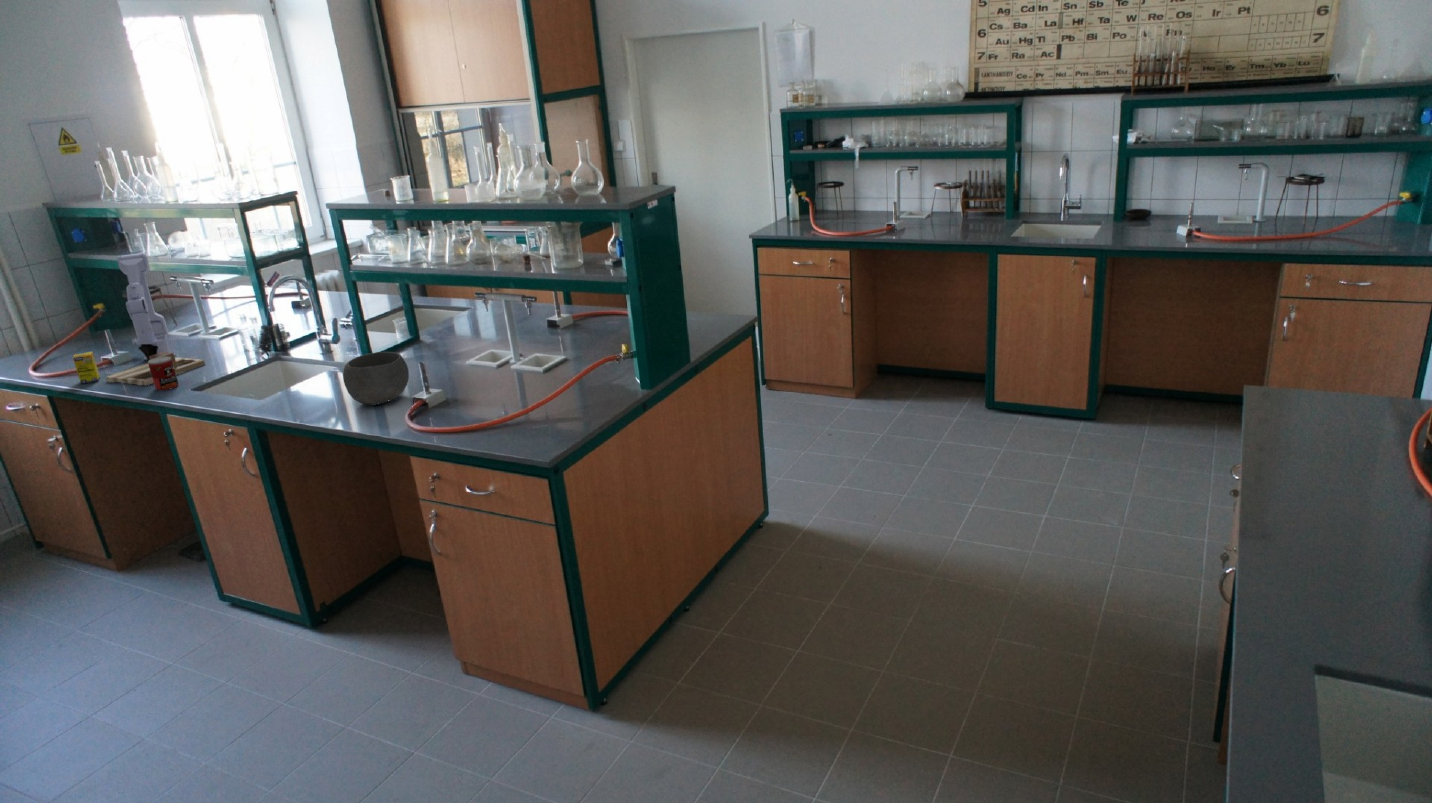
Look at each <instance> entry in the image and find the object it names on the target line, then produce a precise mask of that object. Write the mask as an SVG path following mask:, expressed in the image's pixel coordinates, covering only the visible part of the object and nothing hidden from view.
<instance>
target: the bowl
mask: <svg viewBox="0 0 1432 803" xmlns="http://www.w3.org/2000/svg"><path fill="white" fill-rule="evenodd" d="M409 373H410V372H409V367H408V364H407V362H406V361H405V359H404V357H403V356H402V355H401V354H400V353H398V352H394V351H377V352H370V353H366V354H361V355H359V356H357V357H354V358H352V359H351V360H349V361H347V363H345V365H344V368H343V374H342V379H343V384H344V386H345V389H346V390H347V393H348V394H349V396H350V397H351V398H352V399H353V400H354V401H356V402H358V403H359V404H362V405H366V406H373V405H372V404H378V403H382V404H384V403H383V402H386V401H388V400H391V401H393V400H394V398H395V399H396V398H397V397H399V396H400V395H401V394H402V393H403V392H404V391H405V388H407V386H408V383H409V378H410V377H409V376H410V374H409ZM392 399H393V400H392ZM386 403H387V402H386Z"/></svg>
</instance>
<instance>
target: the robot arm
mask: <svg viewBox="0 0 1432 803" xmlns="http://www.w3.org/2000/svg"><path fill="white" fill-rule="evenodd" d="M116 260H117V265H118V267H119V269H120V271H121V272H122V274H124V275H126V276H127V280H128V281H127V282H128V285H127V286H126V297H127V301H125V306H126V310H127V312H128V314H129V318H130V320H132V324H133V327H134V331H135V334H136V338H133V339H131V342H132V345H137V346H138V345H139V347H138V350H139V351H141V352H142V354H143V355H144V356H145V357H143V360H147V362H148V361H149V360H150V358H149V356H152V355H155V354H158V353H161V352H171V350H170V347H169V343H168V340H167V336H166V335H168V334H169V327H168V325H167V322H166V319H165V317H164V315H162V314H160V313H158V312H156V311H155V307H154V304H153V300H152V296H151V292H150V289H149V285H148V281H147V278H146V277H147V274H148V273H149V272H150V271H151V267H150V264H149V259H148V256H147V254H146V253H145V252H140V253H133V254H122V255H118V256H117V258H116ZM174 356H175V357H176V353H174Z"/></svg>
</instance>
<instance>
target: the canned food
mask: <svg viewBox="0 0 1432 803" xmlns="http://www.w3.org/2000/svg"><path fill="white" fill-rule="evenodd" d="M147 363H148V364H149V368H150V371H151V375H152V378H153V381H154V384H153V385H154V388H155V389H156V390H157V391H160V390H162V391H166V390H165V389H169V390H171V389H170V388H173V389H176V388H177V387H178V386H179V381H178V379H177V375H176V373H175V369H174V366H173V362H172V359H171V357H168V356H164V357H157V358H154V359H151V360H149V361H148V360H147Z"/></svg>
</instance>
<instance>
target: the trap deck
mask: <svg viewBox="0 0 1432 803" xmlns="http://www.w3.org/2000/svg"><path fill="white" fill-rule="evenodd" d="M175 360H176V364H177V368H174V369H175V373H176V376H178V375H180V373H181V374H183V373H185V372H189V371H191V370H194V369H197V368H200V367H203V366H205V365H206V363H205V360H204V359H198V358H189V357H188V358H187V357H179V356H177V357H176V356H175ZM177 374H178V375H177ZM105 378H106V382H107V383H114V382H122V383H121V384H123V383H129V384H128V385H132V384H137V385H136V386H141V385H148V386H151V385H154V384H153V383H154V381H153V378H152V375H151V371H150V368H149V364H148V362H145V363H142V364H138V365H136V366H134V367H133V366H132V367H130V368H128V369H125V370H122V371H119V372H116V373H113V374H110V375H108V376H105ZM130 383H131V384H130ZM150 384H151V385H150Z"/></svg>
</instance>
